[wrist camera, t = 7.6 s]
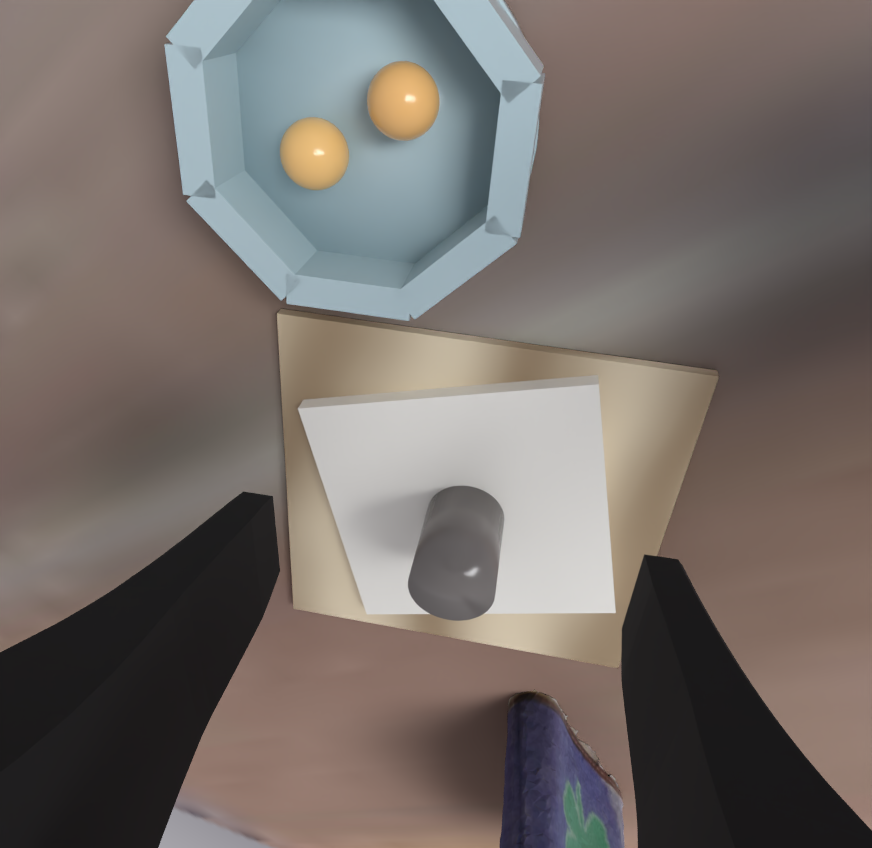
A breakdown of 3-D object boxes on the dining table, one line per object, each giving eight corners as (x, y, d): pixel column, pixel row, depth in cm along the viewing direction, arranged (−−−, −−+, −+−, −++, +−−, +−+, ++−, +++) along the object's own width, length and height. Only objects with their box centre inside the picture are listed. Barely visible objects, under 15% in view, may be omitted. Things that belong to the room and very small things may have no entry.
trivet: (716, 370, 21) (718, 376, 21) (617, 660, 29) (617, 668, 29) (280, 308, 23) (276, 313, 22) (296, 601, 31) (293, 608, 30)
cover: (598, 374, 22) (603, 451, 18) (615, 601, 27) (621, 694, 23) (303, 399, 24) (258, 471, 21) (370, 603, 29) (342, 688, 26)
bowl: (567, -61, 16) (566, -67, 14) (514, 296, 21) (507, 336, 19) (202, -93, 17) (144, -102, 15) (233, 258, 22) (193, 292, 20)
